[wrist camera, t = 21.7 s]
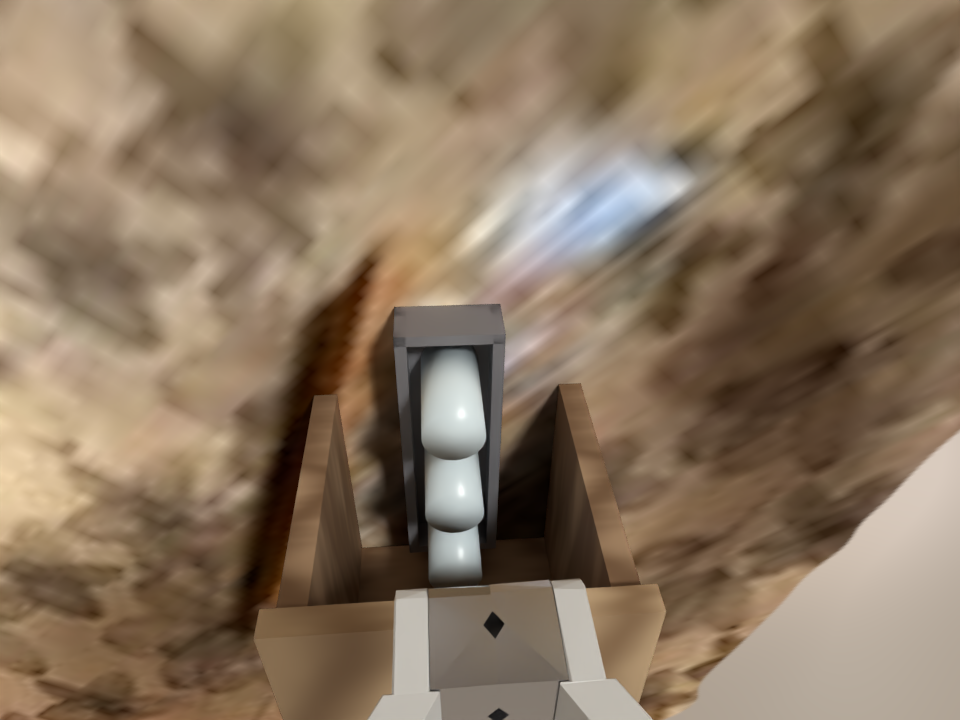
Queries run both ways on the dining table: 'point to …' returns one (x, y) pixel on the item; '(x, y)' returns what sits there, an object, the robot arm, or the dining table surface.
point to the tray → (410, 401)
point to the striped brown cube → (382, 570)
